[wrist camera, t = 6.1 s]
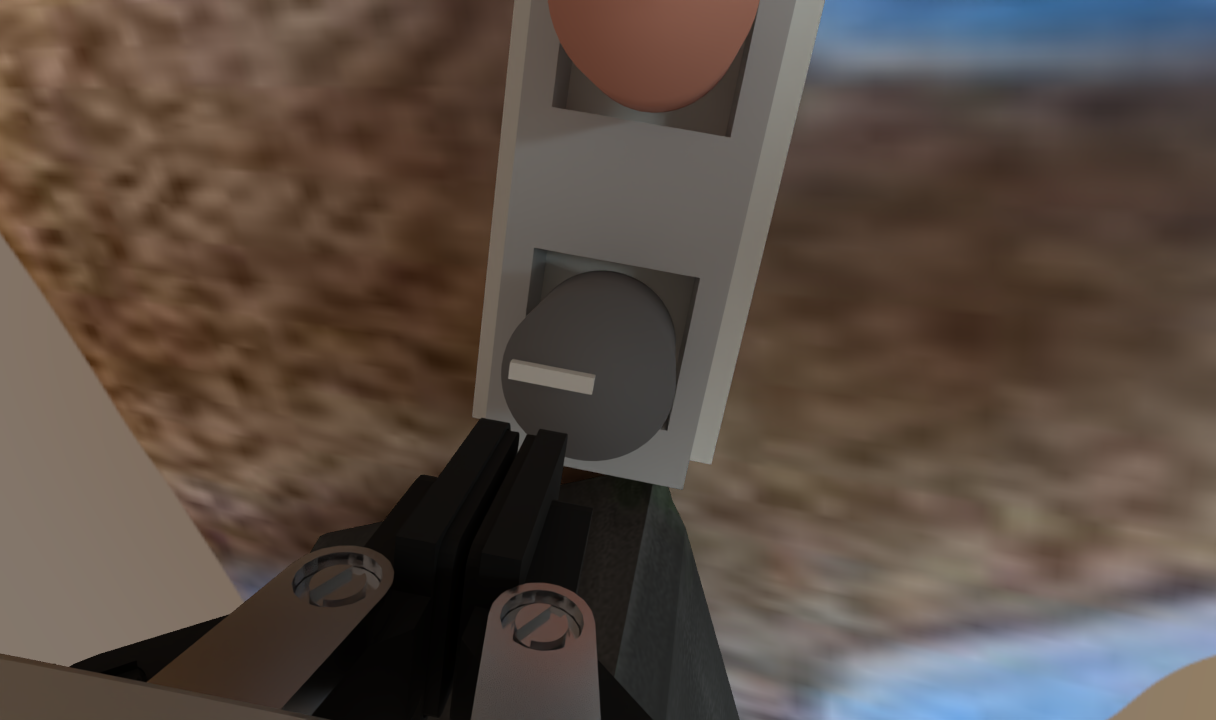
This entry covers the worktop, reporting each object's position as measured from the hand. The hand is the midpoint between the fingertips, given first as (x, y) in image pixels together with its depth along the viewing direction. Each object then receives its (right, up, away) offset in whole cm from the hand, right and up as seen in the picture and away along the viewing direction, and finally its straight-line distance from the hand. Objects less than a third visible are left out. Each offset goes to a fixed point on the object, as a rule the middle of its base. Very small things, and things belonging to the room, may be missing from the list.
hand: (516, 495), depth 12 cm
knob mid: (+3, +13, +6) cm, 14 cm away
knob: (+2, +3, +9) cm, 10 cm away
